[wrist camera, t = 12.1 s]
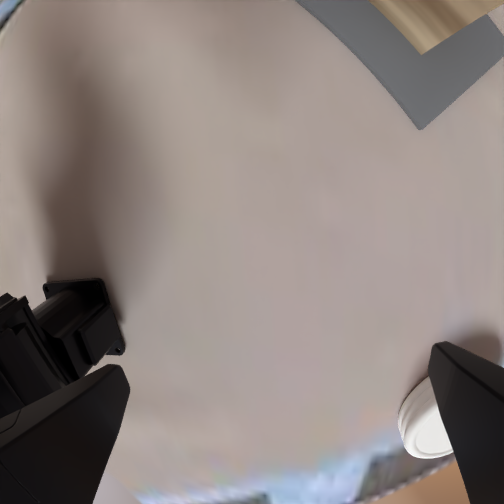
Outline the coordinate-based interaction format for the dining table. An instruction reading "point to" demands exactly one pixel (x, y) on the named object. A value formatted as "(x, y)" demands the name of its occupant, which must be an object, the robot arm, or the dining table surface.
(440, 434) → the white short cylinder
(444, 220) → the dining table surface
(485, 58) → the charcoal mat
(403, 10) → the beech block
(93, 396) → the robot arm
